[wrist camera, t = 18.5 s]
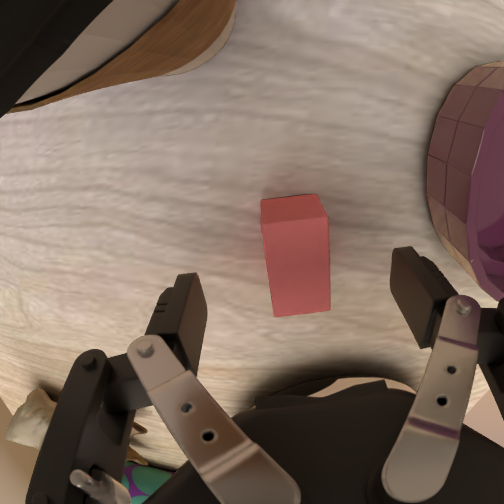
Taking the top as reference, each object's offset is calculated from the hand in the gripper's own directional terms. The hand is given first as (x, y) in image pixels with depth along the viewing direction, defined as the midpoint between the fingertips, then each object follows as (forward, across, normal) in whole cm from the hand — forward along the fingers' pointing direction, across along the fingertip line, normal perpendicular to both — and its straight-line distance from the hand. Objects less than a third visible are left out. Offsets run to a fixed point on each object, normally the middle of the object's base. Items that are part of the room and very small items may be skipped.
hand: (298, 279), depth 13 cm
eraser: (+4, 0, 0) cm, 4 cm away
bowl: (+4, -14, -3) cm, 15 cm away
